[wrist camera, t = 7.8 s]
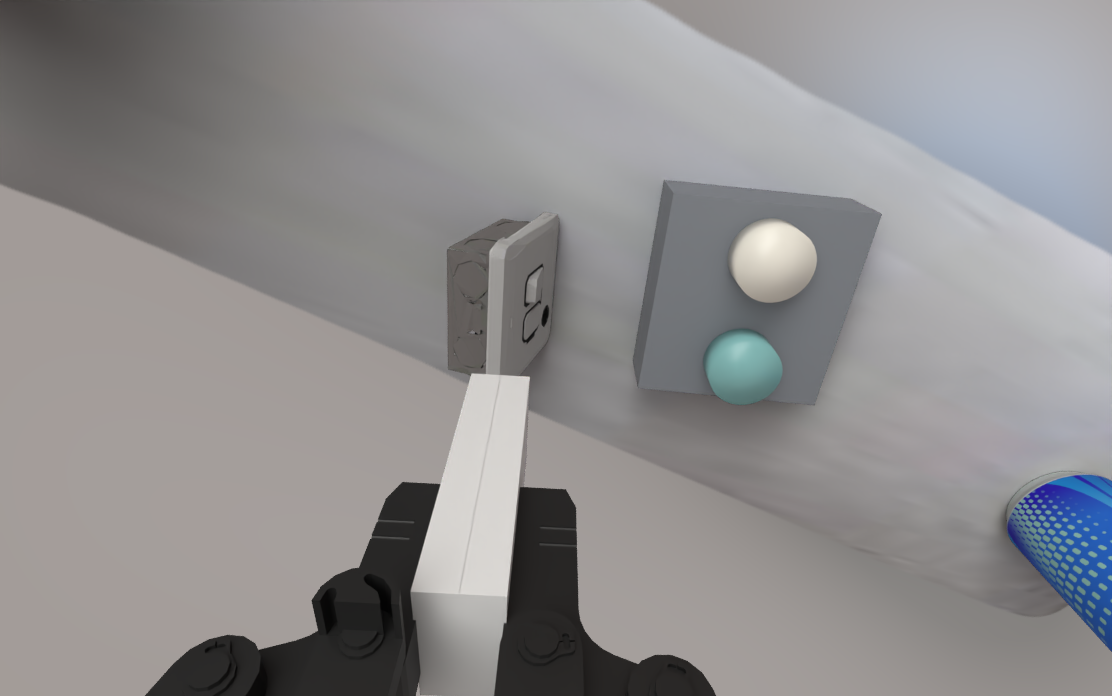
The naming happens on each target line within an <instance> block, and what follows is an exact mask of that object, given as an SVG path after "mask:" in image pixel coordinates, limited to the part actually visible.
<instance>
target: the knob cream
mask: <svg viewBox="0 0 1112 696" xmlns="http://www.w3.org/2000/svg"><path fill="white" fill-rule="evenodd" d="M816 264H817V254H816V250H815V247H814V245H813V243H812V241H811V240H810V239H809V238H808V237H807V236H806V235H805V234H804V233H802V232H801V231H800V230H798V229H797V228H796V227H794V226H793V225H792V224H790V223H789V222H786V221H784V220H781V219H775V218H769V219H762V220H759V221H756V222H754V223H752V224H750V225H748V226H747V227H745V228H744V229H743V230H741V232H740V233H739V234H738V235H737V236H736V237H735V239H734V240H733V242H732V244H731V246H730V249H729V253H728V267H729V270H730V273H731V275H732V276H733V278H734V279H735V281H736V282H737V283H738V285H739V286H740V288H741V289H742V290H743V291H744V293H746V294H747V295H748V296H749V297H751V298H752V299H755V300H757V301H760V302H766V303H774V302H780V301H784V300H787V299H789V298H791V297H793V296H795V295H796V294H798V293H799V292H800V291H801V290H803V289H804V288H805V287H806V285H807V284H808V283H809V281H810V280H811V278H812V276H813V274H814V272H815V269H816Z"/></svg>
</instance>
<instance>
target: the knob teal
mask: <svg viewBox="0 0 1112 696" xmlns="http://www.w3.org/2000/svg"><path fill="white" fill-rule="evenodd" d="M703 366H704V370H705V373H706V375H707V378H708V380H709V383H710V385H711V387H712V389H713V391H714V393H715V394H716V395H717V396H718V397H719V398H720V399H722V400H724V401H726V402H728V403H731V404H736V405H747V404H752V403H756V402H758V401H760V400H762V399H764V398H766V397H767V396H769V395H770V394H771V393H772V392H773V391H774V390H775V389H776V387H777V386H778V384H779V382H780V380H781V377H782V371H783V369H782V363H781V360H780V358H779V356H778V355H777V353H776V352H775V350H774V349H773V347H772V346H771V344H770V343H769V341H768V340H767V339H766V338H765V337H764V336H763V335H762V334H760V333H759V332H756V331H754V330H751V329H734V330H730V331H727V332H725V333H723V334H721V335H719V336H718V337H716V338H715V339H714V340H713V341H712V342H711V343H710V344H709V346H708V347H707V349H706V351H705V354H704V359H703Z"/></svg>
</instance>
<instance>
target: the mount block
mask: <svg viewBox="0 0 1112 696" xmlns="http://www.w3.org/2000/svg"><path fill="white" fill-rule="evenodd" d="M881 215H882V214H881V213H879V212H877V211H875V210H873V209H871V208H869V207H867V206H865V205H863V204H861V203H859V202H857V201H855V200H853V199H847V198H837V197H827V196H817V195H807V194H797V193H787V192H777V191H767V190H757V189H747V188H737V187H727V186H717V185H707V184H697V183H687V182H677V181H667V180H664V183H663V189H662V195H661V201H660V207H659V212H658V218H657V224H656V230H655V235H654V241H653V247H652V253H651V258H650V264H649V270H648V276H647V281H646V287H645V293H644V299H643V305H642V310H641V316H640V322H639V328H638V333H637V339H636V345H635V351H634V356H633V364H634V369H635V375H636V380H637V386H638V388H642V389H652V390H662V391H673V392H683V393H693V394H704V395H714V396H717V395H716V394H715V393H714V391H713V389H712V387H711V385H710V383H709V380H708V378H707V375H706V373H705V370H704V366H703V359H704V354H705V351H706V349H707V347H708V346H709V344H710V343H711V342H712V341H713V340H714V339H715V338H716V337H718V336H719V335H721V334H723V333H725V332H727V331H730V330H734V329H751V330H754V331H756V332H759V333H760V334H762V335H763V336H764V337H765V338H766V339H767V340H768V341H769V343H770V344H771V346H772V347H773V349H774V350H775V352H776V353H777V355H778V356H779V358H780V360H781V363H782V369H783V371H782V377H781V380H780V382H779V384H778V386H777V387H776V389H775V390H774V391H773V392H772V393H771V394H770V395H769V396H767V397H766V398H764V399H762V400H766V401H776V402H786V403H797V404H807V405H815V402H816V399H817V396H818V393H819V390H820V388H821V385H822V382H823V379H824V376H825V373H826V371H827V368H828V365H829V362H830V359H831V356H832V354H833V351H834V348H835V345H836V342H837V340H838V337H839V334H840V331H841V328H842V325H843V323H844V320H845V317H846V314H847V311H848V308H849V306H850V303H851V300H852V297H853V294H854V291H855V289H856V286H857V283H858V280H859V277H860V275H861V272H862V269H863V266H864V263H865V260H866V258H867V255H868V252H869V249H870V246H871V243H872V241H873V238H874V235H875V232H876V229H877V226H878V224H879V221H880V218H881ZM769 218H775V219H781V220H784V221H786V222H789V223H790V224H792V225H793V226H794V227H796V228H797V229H798V230H800V231H801V232H802V233H804V234H805V235H806V236H807V237H808V238H809V239H810V240H811V241H812V243H813V245H814V247H815V250H816V254H817V264H816V269H815V272H814V274H813V276H812V278H811V280H810V281H809V283H808V284H807V285H806V287H805V288H804V289H803V290H801V291H800V292H799V293H798V294H796V295H795V296H793V297H791V298H789V299H787V300H784V301H780V302H774V303H766V302H760V301H757V300H755V299H752V298H751V297H749V296H748V295H747V294H746V293H744V291H743V290H742V289H741V288H740V286H739V285H738V283H737V282H736V281H735V279H734V278H733V276H732V275H731V273H730V270H729V267H728V253H729V249H730V246H731V244H732V242H733V240H734V239H735V237H736V236H737V235H738V234H739V233H740V232H741V230H743V229H744V228H745V227H747V226H748V225H750V224H752V223H754V222H756V221H759V220H762V219H769Z"/></svg>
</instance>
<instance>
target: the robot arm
mask: <svg viewBox="0 0 1112 696" xmlns="http://www.w3.org/2000/svg"><path fill="white" fill-rule="evenodd" d="M529 383H530V377H525V376H508V375H490V374H473V373H472V374H471V378H470V381H469V385H468V388H467V392H466V396H465V399H464V403H463V406H462V410H461V413H460V417H459V420H458V424H457V428H456V431H455V435H454V438H453V442H452V446H451V449H450V453H449V456H448V460H447V463H446V467H445V471H444V474H443V478H442V481H441V484H427V483H409V482H402V483H401V484H400V485H399V486H398V487H397V488H396V489H395V490H394V491H393V492H392V493H391V494H390V495H389V496H388V497H387V498H386V501H385V503H384V505H383V508H382V510H381V513H380V516H379V518H378V522H377V523H376V526H375V528H374V531H373V533H372V539H370V541H369V544H368V546H367V549H366V551H365V554H364V557H363V559H362V562H361V564H360V567H359V568H353V569H350V570H347V571H345V572H342V573H340V574H338V575H335V576H334V577H333V578H331V579H330V580H329V581H327V582H326V583H325V584H324V585H322V586H321V587H320V589H319V590H318V592H317V593H316V595H315V596H314V598H313V599H312V604H313V609H314V614H315V618H316V622H317V627H318V631H317V632H315V633H313V634H312V635H310V636H307V637H305V638H302V639H299V640H296V641H292V642H288V643H285V644H281V645H276V646H273V647H269V648H264V649H261V650H258V649H257V646H256V644H255V643H254V642H252V641H250V640H249V639H247V638H245V637H244V636H234V635H226V636H221V637H217V638H213V639H209V640H207V641H205V642H203V643H201V644H199V645H198V646H196V647H194V648H192V649H190V650H189V651H188V652H186V653H185V654H184V655H183V656H182V657H181V658H180V659H179V660H177V661H176V662H175V663H174V664H173V665H172V666H171V667H170V668H169V669H168V671H167V672H166V673H165V674H164V675H163V676H162V677H161V678H160V680H159V681H158V682H157V683H156V684H155V685H154V686H153V687H152V688H151V690H150V691H149V692H148V693H147V694H146V695H145V696H416V692H417V687H418V683H419V687H420V695H437V696H716V695H715V693H714V690H713V688H712V687H711V685H710V684H709V682H708V681H707V679H706V678H705V676H704V675H703V673H702V672H701V671H699V670H698V669H697V668H696V667H694V666H693V665H692V664H691V663H689V662H688V661H686V660H683V659H681V658H678V657H675V656H673V655H654V656H652V657H649V658H647V659H645V660H642V661H641V662H640V663H639V664H636V663H633V662H631V661H628V660H626V659H623V658H620V657H618V656H615V655H613V654H611V653H609V652H607V651H605V650H603V649H602V648H600V647H599V646H598V645H597V644H596V643H594V642H593V641H592V640H591V638H590V637H589V636H588V634H587V633H586V632H585V630H584V628H583V626H582V624H581V621H580V616H579V610H578V573H577V533H576V507H575V505H574V503H573V502H572V500H571V498H570V496H569V494H568V493H567V491H566V489H565V490H564V489H546V488H528V487H524V477H525V467H526V451H527V427H528V406H529Z"/></svg>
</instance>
